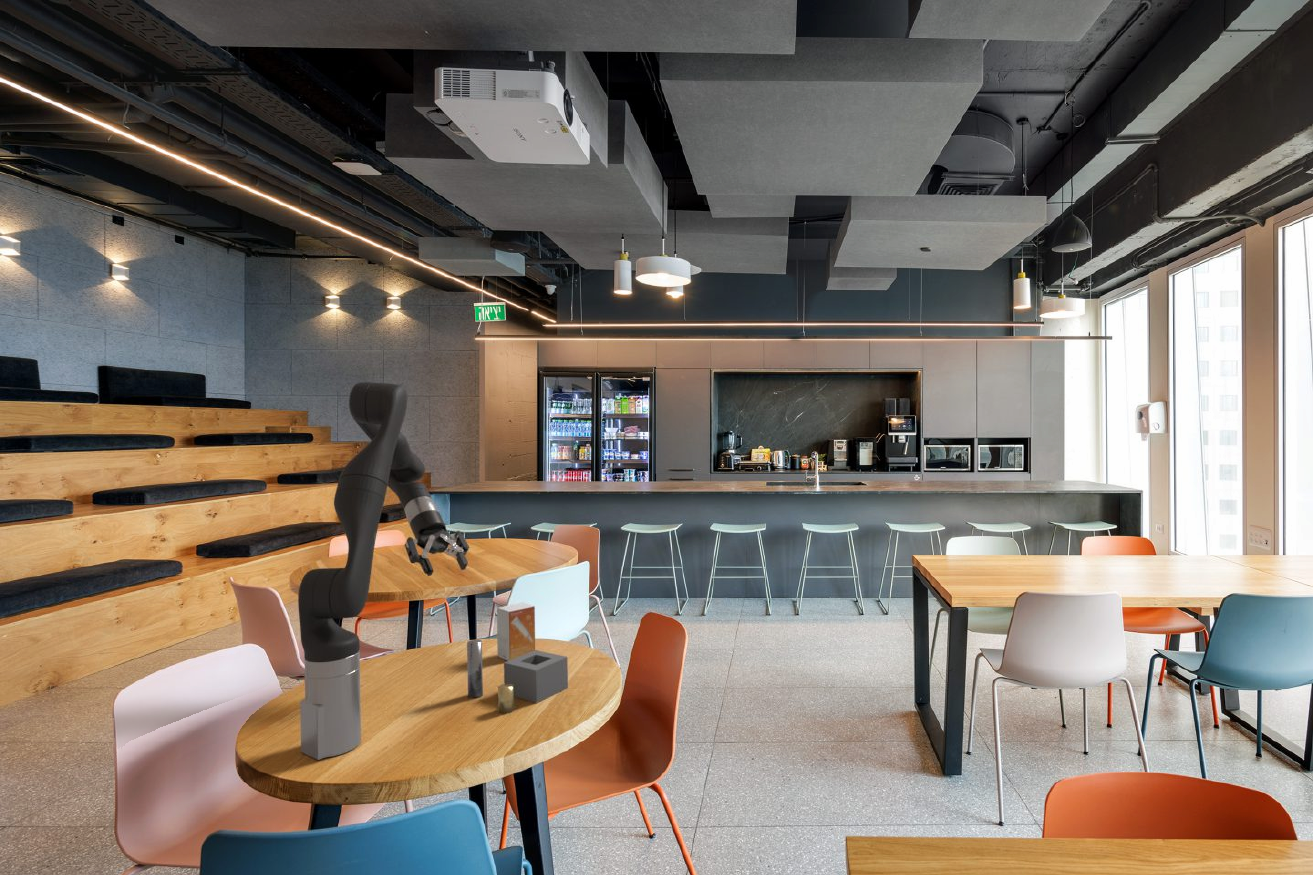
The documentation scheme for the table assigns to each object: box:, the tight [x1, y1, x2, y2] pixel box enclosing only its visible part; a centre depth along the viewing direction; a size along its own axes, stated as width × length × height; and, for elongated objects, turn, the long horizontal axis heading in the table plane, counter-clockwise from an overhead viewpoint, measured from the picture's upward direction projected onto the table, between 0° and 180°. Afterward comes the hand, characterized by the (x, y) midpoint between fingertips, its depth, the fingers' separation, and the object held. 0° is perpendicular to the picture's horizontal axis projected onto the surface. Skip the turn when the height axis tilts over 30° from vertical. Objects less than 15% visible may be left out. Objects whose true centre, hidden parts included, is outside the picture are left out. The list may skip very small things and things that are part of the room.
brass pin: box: [497, 683, 515, 715], centre depth 132 cm, size 3×3×5 cm
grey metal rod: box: [466, 639, 484, 699], centre depth 141 cm, size 3×3×12 cm
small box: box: [496, 602, 536, 662], centre depth 167 cm, size 8×6×13 cm
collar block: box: [503, 649, 569, 704], centre depth 142 cm, size 10×10×7 cm
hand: (448, 570), depth 149 cm, fingers open, 8 cm apart
